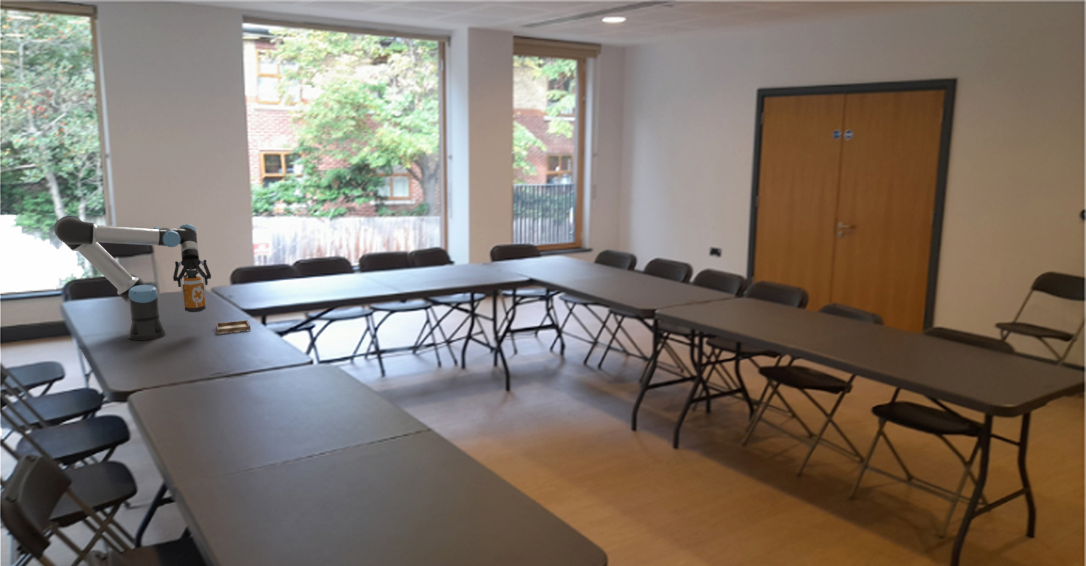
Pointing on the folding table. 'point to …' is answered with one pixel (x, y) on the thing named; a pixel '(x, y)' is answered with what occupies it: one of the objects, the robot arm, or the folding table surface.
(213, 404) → the folding table surface
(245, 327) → the wooden tray
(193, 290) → the canister
